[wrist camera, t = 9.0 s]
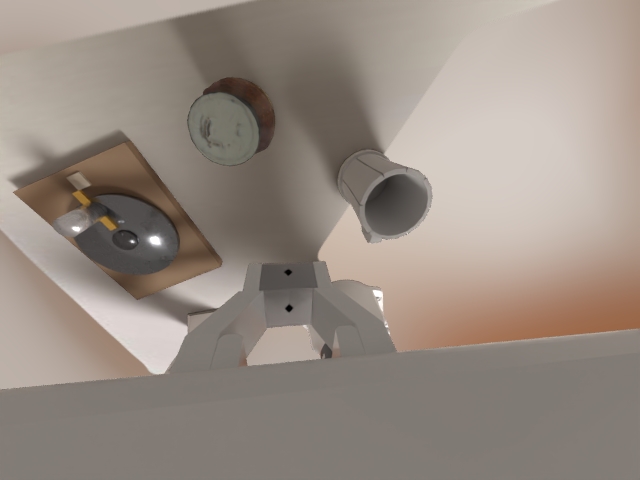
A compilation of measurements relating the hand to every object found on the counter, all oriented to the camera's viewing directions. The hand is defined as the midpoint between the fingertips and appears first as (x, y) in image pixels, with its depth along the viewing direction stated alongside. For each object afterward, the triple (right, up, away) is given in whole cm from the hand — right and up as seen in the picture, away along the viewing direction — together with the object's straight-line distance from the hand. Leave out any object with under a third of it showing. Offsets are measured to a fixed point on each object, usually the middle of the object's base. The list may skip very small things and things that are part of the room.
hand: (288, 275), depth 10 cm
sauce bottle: (-8, +18, +21) cm, 29 cm away
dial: (-27, +3, +24) cm, 36 cm away
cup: (+9, +11, +28) cm, 31 cm away
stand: (-27, +3, +26) cm, 38 cm away
